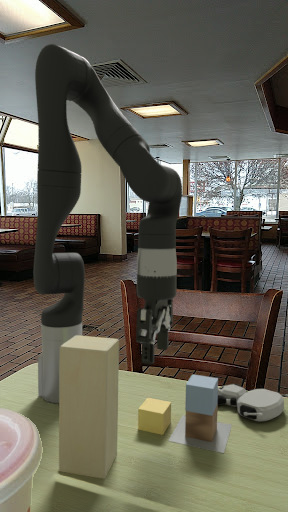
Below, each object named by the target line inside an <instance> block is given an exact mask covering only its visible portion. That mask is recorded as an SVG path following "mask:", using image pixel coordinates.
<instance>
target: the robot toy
mask: <svg viewBox="0 0 288 512" xmlns="http://www.w3.org/2000/svg"><path fill="white" fill-rule="evenodd" d="M284 397H288V394H280V392H277V391H272V390H268V389H266V388H256V389H251V390H249V391H248V390H246V389H245V388H244V387H243V386H242V385H240V384H239V383H231V384H227V385H222V386H221V387H218V400H217V404H218V406H223V405H226V406H230V407H233V408H236V409H237V412H238V414H239V415H240V416H241V417H244V418H246V419H249V420H252V421H254V422H267V421H270V420H273V419H274V418H277V417H278V416H280V415H281V414H282V412H284V410H285V398H284Z"/></svg>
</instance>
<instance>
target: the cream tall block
mask: <svg viewBox="0 0 288 512" xmlns="http://www.w3.org/2000/svg"><path fill="white" fill-rule="evenodd" d="M119 358H120V340H119V339H118V338H112V337H111V338H109V337H99V336H88V335H82V336H80V335H76V336H74V337H73V338H71V339H70V340H68V341H67V342H65V343H64V344H63V345H61V346H60V365H59V403H58V404H59V406H58V407H59V409H58V418H59V419H58V427H59V428H58V471H59V472H63V473H68V474H74V475H78V476H79V475H80V476H86V477H92V478H96V479H106V477H107V475H108V474H109V472H110V470H111V467H112V465H113V463H114V461H115V459H116V457H117V455H118V429H119V428H118V426H119V425H118V423H119V418H118V417H119V375H120V374H119V369H120V368H119V365H120V364H119V363H120V361H119V360H120V359H119ZM59 475H61V476H65V477H67V475H66V474H61V473H59Z"/></svg>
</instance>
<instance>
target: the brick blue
mask: <svg viewBox="0 0 288 512" xmlns="http://www.w3.org/2000/svg"><path fill="white" fill-rule="evenodd" d="M185 383H186V384H185V405H184V406H185V407H184V409H185V412H186V411H190V412H195V413H200V414H206V415H211V416H213V413H214V411H215V408H216V406H217V400H218V388H219V378H218V377H212V376H206V375H199V374H192V375H191V376H190V378H189V379H188V381H187V382H185Z"/></svg>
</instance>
